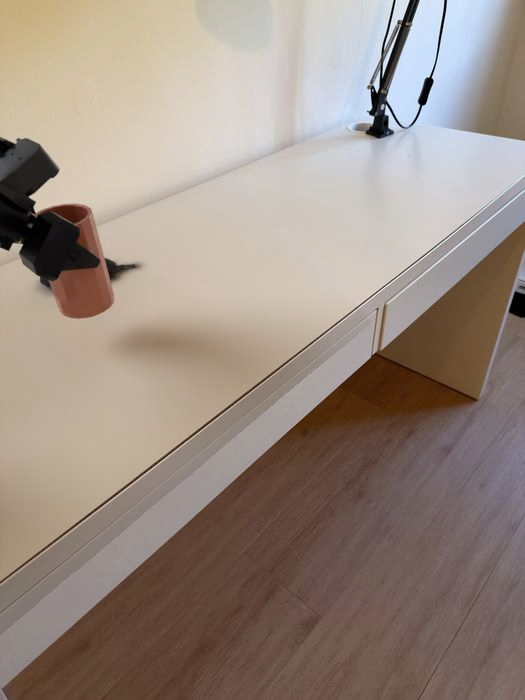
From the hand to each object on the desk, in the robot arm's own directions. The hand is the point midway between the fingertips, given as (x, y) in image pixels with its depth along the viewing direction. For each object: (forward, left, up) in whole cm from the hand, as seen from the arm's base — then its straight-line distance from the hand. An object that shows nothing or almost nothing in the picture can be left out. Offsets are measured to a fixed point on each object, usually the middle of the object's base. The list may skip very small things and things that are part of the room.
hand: (83, 253), depth 65 cm
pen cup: (-1, -1, -7) cm, 7 cm away
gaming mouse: (0, +17, -13) cm, 22 cm away
